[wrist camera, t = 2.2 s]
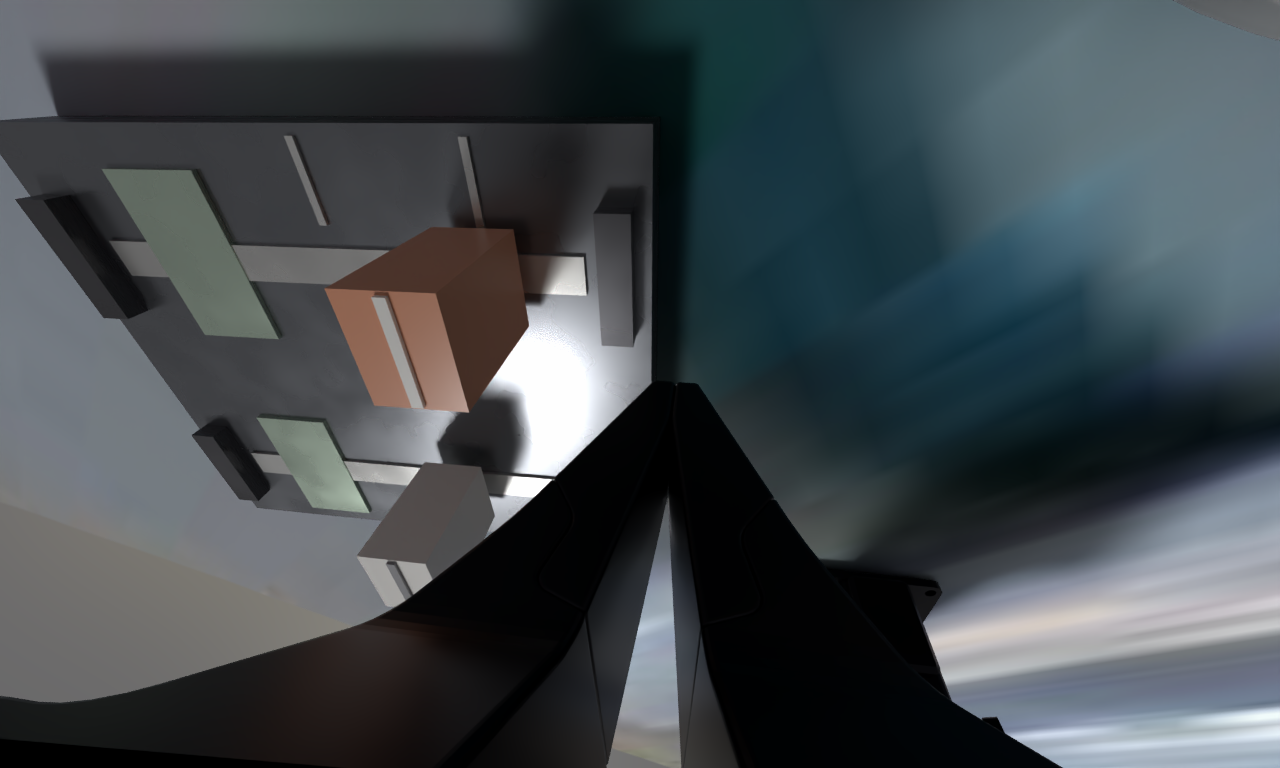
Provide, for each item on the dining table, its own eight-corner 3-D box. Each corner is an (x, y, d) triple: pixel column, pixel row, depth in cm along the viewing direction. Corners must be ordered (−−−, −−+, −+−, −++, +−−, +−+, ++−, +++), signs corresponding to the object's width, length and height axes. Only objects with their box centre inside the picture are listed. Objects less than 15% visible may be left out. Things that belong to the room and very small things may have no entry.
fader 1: (529, 326, 14) (467, 415, 11) (457, 322, 15) (371, 408, 11) (513, 229, 13) (433, 295, 9) (431, 226, 13) (321, 290, 9)
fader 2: (494, 516, 20) (447, 616, 16) (443, 510, 20) (384, 608, 17) (480, 467, 18) (424, 566, 15) (424, 461, 19) (354, 558, 15)
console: (654, 516, 23) (648, 564, 21) (288, 481, 25) (247, 521, 23) (660, 116, 13) (649, 126, 11) (56, 116, 15) (-56, 124, 13)
